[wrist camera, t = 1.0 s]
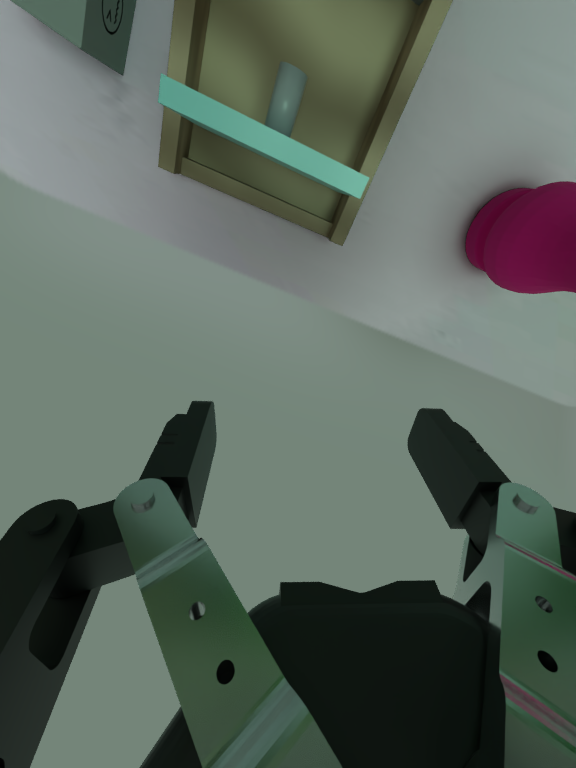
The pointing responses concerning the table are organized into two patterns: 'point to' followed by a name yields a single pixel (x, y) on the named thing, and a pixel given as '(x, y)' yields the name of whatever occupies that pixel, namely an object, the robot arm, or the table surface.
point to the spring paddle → (265, 129)
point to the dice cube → (89, 25)
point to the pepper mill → (527, 239)
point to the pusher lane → (319, 100)
